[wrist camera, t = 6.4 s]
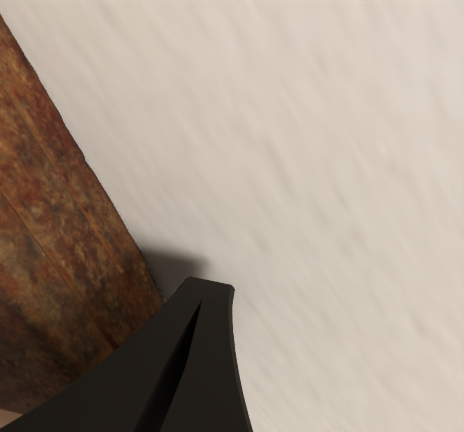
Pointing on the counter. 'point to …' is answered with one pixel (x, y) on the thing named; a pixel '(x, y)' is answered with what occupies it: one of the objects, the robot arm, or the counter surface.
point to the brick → (57, 249)
